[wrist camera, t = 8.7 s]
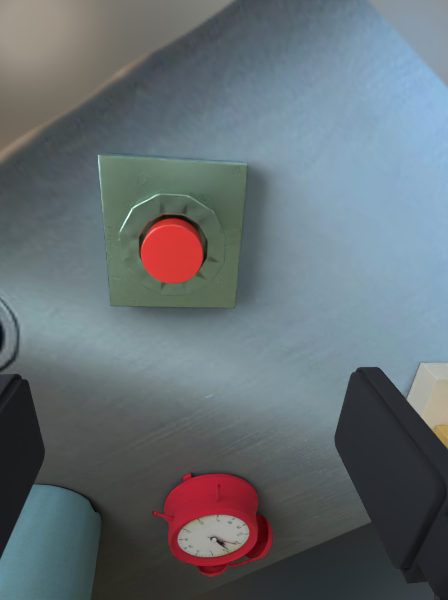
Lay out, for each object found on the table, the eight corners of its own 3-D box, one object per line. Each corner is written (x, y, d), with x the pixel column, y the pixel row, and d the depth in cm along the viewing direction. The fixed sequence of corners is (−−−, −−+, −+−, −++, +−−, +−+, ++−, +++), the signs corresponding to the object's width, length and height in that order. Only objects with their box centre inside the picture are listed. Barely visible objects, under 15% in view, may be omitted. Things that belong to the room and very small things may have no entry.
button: (143, 216, 20) (139, 223, 19) (203, 219, 21) (204, 226, 19) (145, 272, 22) (142, 283, 20) (201, 274, 22) (202, 284, 21)
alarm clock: (231, 483, 31) (298, 592, 35) (230, 439, 38) (287, 536, 41) (135, 524, 33) (208, 626, 36) (149, 475, 39) (210, 566, 42)
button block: (105, 153, 22) (89, 156, 18) (243, 161, 23) (253, 166, 19) (116, 293, 26) (104, 318, 23) (231, 296, 27) (238, 320, 24)
